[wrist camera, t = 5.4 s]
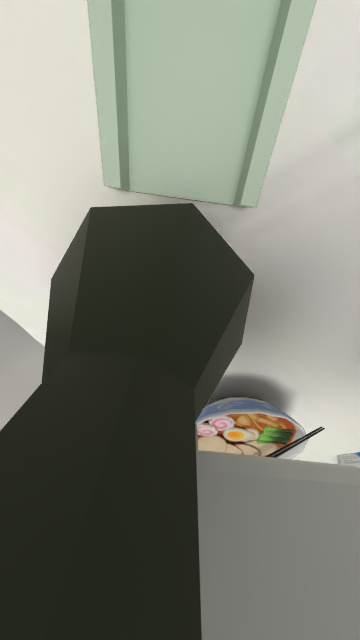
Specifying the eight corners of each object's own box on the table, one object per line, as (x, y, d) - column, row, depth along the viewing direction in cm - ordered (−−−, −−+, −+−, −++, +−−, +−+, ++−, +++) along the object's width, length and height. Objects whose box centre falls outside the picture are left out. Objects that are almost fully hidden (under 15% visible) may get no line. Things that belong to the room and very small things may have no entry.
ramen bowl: (221, 353, 31) (230, 396, 24) (317, 395, 35) (348, 440, 28) (163, 420, 43) (158, 461, 36) (240, 444, 48) (249, 484, 41)
